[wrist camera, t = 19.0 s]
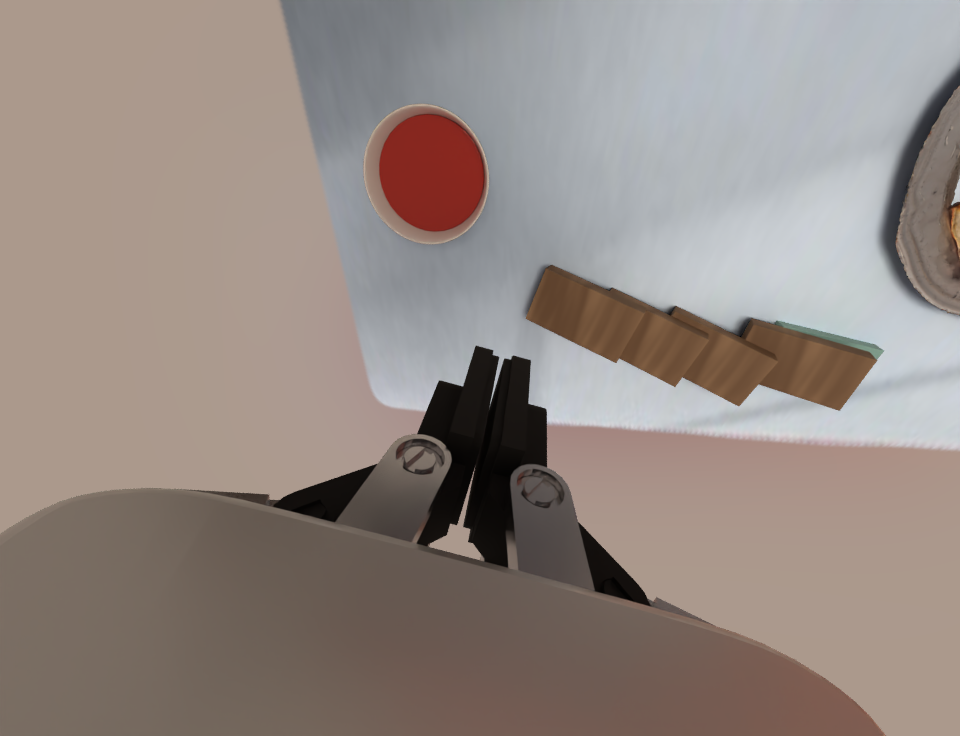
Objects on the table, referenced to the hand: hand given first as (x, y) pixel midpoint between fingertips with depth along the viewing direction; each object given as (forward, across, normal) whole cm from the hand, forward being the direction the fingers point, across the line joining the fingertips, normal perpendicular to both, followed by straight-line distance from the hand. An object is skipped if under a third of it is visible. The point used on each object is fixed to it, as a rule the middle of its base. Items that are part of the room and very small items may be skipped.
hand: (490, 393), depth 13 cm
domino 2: (+26, -9, +6) cm, 28 cm away
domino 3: (+26, -15, +7) cm, 31 cm away
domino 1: (+26, -3, +6) cm, 27 cm away
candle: (+27, +8, -2) cm, 28 cm away
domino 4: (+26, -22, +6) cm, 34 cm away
